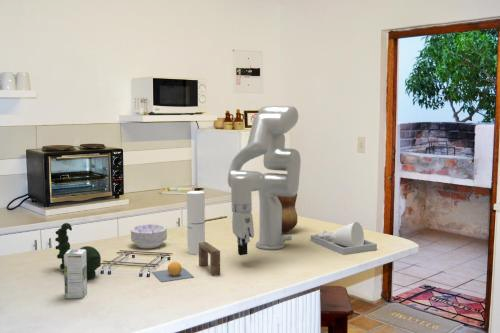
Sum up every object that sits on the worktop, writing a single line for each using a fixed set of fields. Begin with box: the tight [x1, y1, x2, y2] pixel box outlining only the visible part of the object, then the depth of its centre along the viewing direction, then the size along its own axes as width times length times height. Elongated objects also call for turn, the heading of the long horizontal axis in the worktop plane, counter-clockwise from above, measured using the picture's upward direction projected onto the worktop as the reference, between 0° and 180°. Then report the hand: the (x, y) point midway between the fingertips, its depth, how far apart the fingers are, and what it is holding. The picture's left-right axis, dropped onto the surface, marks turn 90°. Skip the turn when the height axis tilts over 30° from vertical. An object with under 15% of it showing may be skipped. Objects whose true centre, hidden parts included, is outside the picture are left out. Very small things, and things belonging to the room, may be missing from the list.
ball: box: [167, 261, 183, 276], centre depth 191 cm, size 5×5×5 cm
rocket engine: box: [318, 221, 365, 248], centre depth 232 cm, size 12×12×18 cm
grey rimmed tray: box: [309, 232, 378, 256], centre depth 233 cm, size 17×25×2 cm
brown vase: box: [277, 193, 298, 233], centre depth 256 cm, size 14×13×25 cm
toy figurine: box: [54, 222, 102, 280], centre depth 191 cm, size 9×19×25 cm
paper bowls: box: [130, 223, 168, 250], centre depth 231 cm, size 15×15×8 cm
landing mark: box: [151, 267, 195, 283], centre depth 192 cm, size 12×12×1 cm
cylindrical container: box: [186, 190, 206, 255], centre depth 221 cm, size 7×7×25 cm
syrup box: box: [63, 248, 88, 300], centre depth 170 cm, size 6×6×14 cm
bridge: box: [198, 241, 221, 277], centre depth 197 cm, size 3×14×9 cm, turn 26°
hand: (242, 254), depth 204 cm, fingers closed
